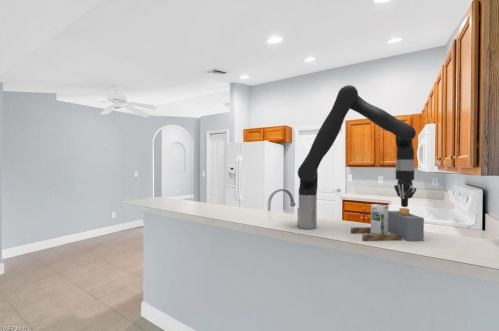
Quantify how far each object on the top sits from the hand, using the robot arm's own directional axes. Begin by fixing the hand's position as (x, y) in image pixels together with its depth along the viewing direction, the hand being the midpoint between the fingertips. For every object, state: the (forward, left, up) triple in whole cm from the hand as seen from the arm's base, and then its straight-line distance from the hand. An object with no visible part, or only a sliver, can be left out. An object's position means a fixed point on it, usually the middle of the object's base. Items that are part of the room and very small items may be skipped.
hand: (404, 206), depth 123 cm
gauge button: (0, 0, -5) cm, 5 cm away
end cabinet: (0, 0, -14) cm, 14 cm away
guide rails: (-14, 0, -14) cm, 20 cm away
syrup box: (-12, 0, -14) cm, 18 cm away
